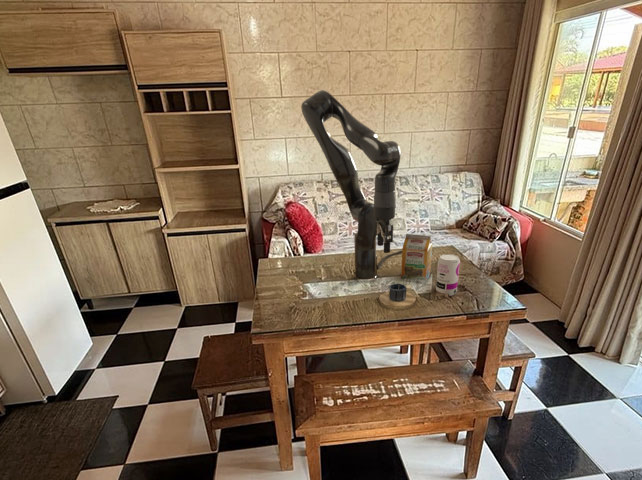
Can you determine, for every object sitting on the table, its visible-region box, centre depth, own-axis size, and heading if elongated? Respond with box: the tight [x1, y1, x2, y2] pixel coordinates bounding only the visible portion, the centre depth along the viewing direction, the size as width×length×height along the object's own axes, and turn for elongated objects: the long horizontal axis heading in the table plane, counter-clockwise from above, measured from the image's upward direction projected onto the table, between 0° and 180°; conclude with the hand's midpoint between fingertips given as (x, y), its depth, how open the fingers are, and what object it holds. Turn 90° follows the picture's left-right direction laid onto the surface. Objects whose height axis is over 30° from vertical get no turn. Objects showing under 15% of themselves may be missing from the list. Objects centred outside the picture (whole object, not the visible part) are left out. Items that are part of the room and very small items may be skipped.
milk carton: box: [400, 233, 433, 281], centre depth 175 cm, size 11×11×19 cm
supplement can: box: [435, 253, 461, 297], centre depth 160 cm, size 8×8×15 cm
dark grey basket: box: [388, 283, 413, 302], centre depth 157 cm, size 8×6×5 cm
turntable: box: [378, 291, 416, 307], centre depth 158 cm, size 14×14×2 cm
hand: (383, 249), depth 150 cm, fingers open, 8 cm apart
